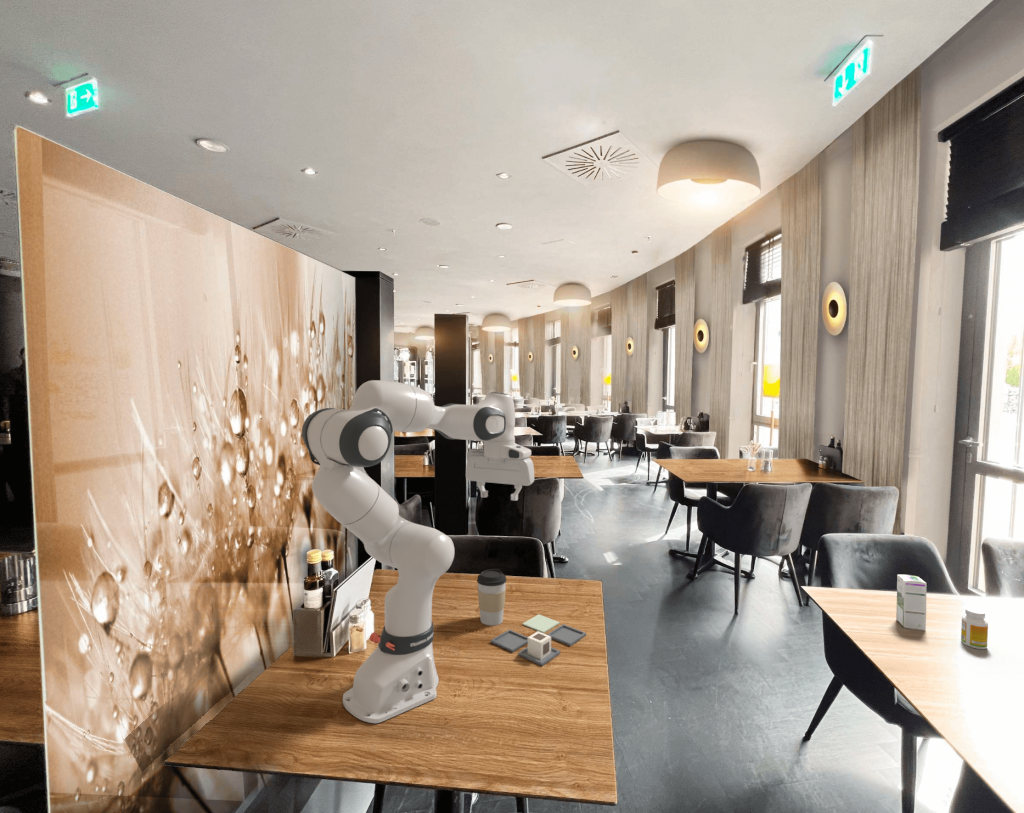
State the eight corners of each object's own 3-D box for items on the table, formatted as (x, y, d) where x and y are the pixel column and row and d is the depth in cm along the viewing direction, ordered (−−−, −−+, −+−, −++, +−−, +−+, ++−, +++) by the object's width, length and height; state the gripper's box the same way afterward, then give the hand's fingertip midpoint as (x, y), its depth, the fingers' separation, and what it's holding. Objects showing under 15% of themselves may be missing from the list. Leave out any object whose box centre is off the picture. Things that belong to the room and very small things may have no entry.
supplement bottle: (991, 648, 138) (993, 613, 137) (978, 651, 136) (980, 616, 136) (968, 638, 143) (970, 605, 143) (956, 641, 141) (957, 607, 141)
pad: (543, 633, 145) (543, 631, 145) (522, 624, 150) (522, 623, 150) (559, 623, 151) (559, 622, 151) (538, 615, 156) (538, 614, 156)
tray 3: (570, 646, 138) (570, 643, 138) (547, 636, 143) (547, 634, 143) (586, 635, 144) (586, 632, 144) (563, 626, 149) (563, 624, 149)
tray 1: (512, 652, 134) (512, 649, 134) (490, 642, 140) (490, 639, 139) (530, 641, 140) (531, 638, 140) (509, 632, 146) (509, 629, 146)
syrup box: (926, 631, 147) (928, 582, 147) (902, 627, 149) (904, 580, 149) (917, 622, 153) (919, 575, 152) (894, 619, 155) (896, 573, 154)
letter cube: (541, 660, 130) (541, 642, 130) (527, 653, 133) (527, 637, 133) (551, 653, 134) (551, 636, 133) (537, 647, 137) (537, 630, 136)
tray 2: (542, 666, 128) (542, 663, 128) (518, 655, 133) (518, 652, 133) (560, 653, 134) (560, 650, 134) (536, 643, 139) (536, 640, 139)
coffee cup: (493, 630, 147) (493, 580, 146) (470, 621, 152) (470, 573, 151) (512, 619, 154) (512, 571, 153) (489, 611, 159) (489, 564, 159)
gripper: (461, 449, 142) (461, 497, 142) (528, 453, 134) (527, 504, 134) (472, 446, 148) (472, 493, 148) (536, 450, 139) (536, 499, 140)
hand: (499, 498), depth 141 cm, fingers open, 8 cm apart
